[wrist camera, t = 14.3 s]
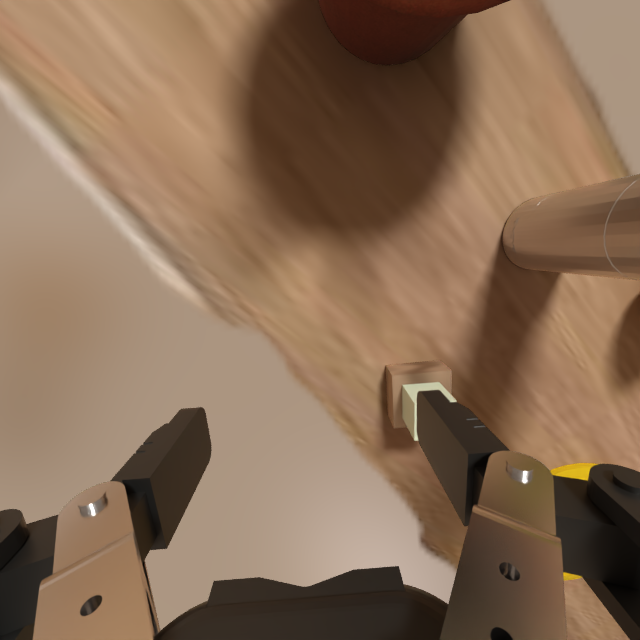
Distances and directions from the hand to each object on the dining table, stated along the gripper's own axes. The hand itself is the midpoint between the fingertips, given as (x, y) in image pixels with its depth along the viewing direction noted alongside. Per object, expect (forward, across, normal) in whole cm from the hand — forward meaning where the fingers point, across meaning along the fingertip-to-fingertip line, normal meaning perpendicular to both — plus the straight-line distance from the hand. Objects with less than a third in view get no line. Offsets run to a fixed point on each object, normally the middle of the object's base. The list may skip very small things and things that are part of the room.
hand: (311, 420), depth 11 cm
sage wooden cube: (+26, -14, +15) cm, 33 cm away
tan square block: (+30, -14, +15) cm, 37 cm away
